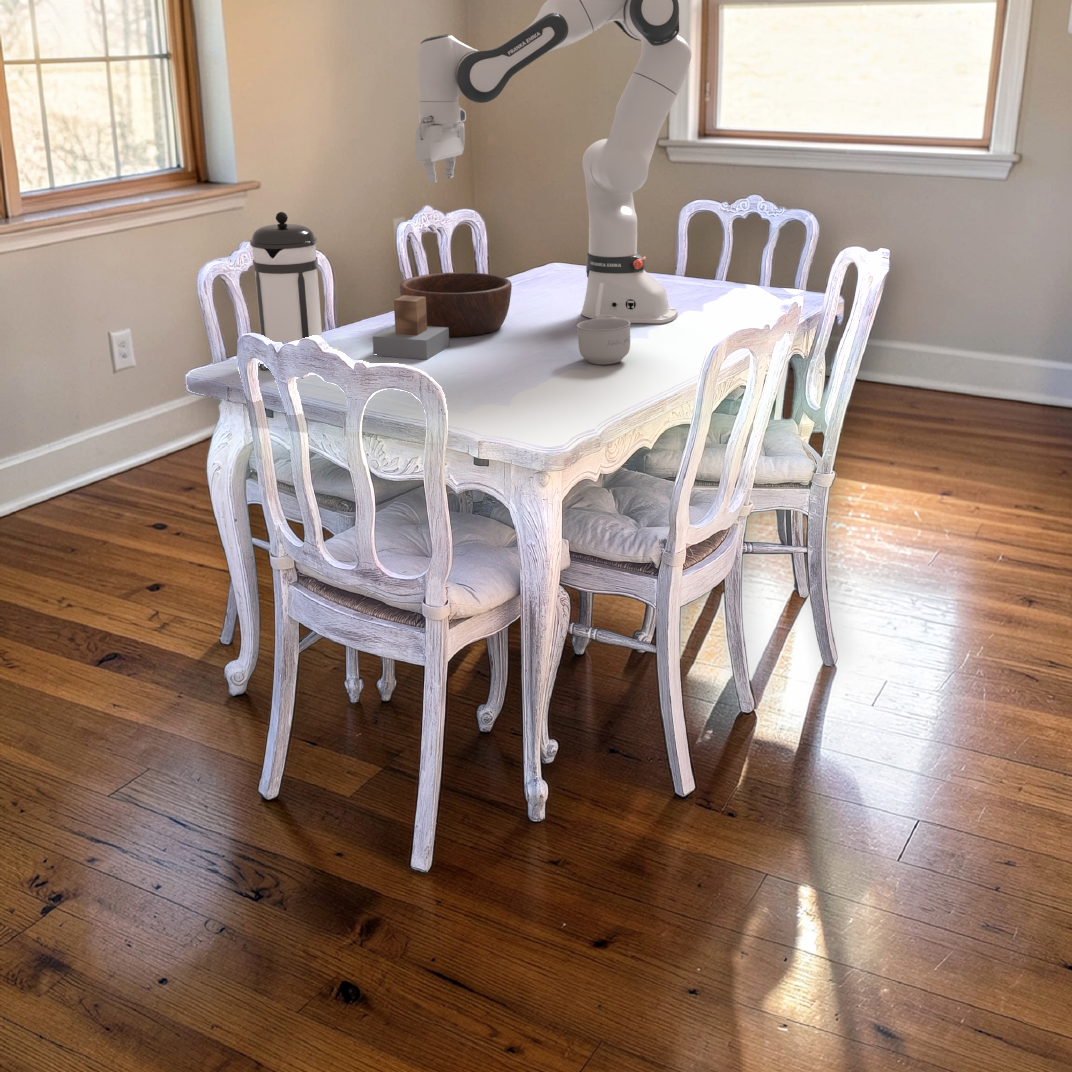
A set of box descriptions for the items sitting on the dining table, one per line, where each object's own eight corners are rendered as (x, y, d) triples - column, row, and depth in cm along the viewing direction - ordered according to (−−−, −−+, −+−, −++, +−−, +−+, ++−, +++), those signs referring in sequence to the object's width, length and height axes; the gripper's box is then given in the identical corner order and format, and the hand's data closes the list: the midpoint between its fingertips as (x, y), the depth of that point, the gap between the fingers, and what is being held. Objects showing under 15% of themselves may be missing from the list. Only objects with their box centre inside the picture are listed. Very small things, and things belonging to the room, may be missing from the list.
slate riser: (449, 346, 258) (448, 327, 257) (427, 359, 248) (426, 340, 246) (397, 342, 262) (396, 323, 260) (373, 355, 251) (372, 336, 250)
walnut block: (427, 330, 255) (425, 296, 252) (417, 335, 250) (416, 301, 248) (405, 328, 256) (403, 295, 253) (395, 333, 252) (393, 300, 249)
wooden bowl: (532, 323, 279) (532, 278, 275) (472, 346, 259) (471, 297, 255) (443, 311, 290) (441, 268, 286) (379, 332, 271) (376, 286, 267)
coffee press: (348, 366, 243) (338, 212, 232) (272, 377, 235) (258, 219, 224) (313, 348, 257) (302, 203, 245) (241, 359, 249) (226, 209, 237)
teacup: (613, 370, 239) (614, 330, 236) (566, 363, 244) (566, 324, 241) (646, 355, 250) (647, 317, 247) (600, 349, 255) (600, 311, 252)
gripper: (433, 118, 256) (436, 185, 261) (468, 112, 274) (470, 175, 279) (406, 117, 258) (409, 184, 263) (442, 111, 276) (445, 174, 281)
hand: (440, 180), depth 271 cm, fingers open, 8 cm apart
